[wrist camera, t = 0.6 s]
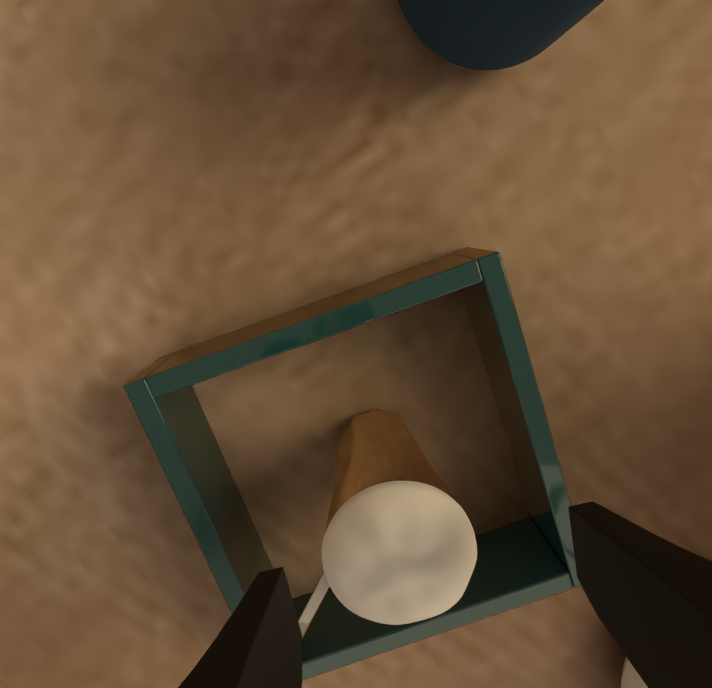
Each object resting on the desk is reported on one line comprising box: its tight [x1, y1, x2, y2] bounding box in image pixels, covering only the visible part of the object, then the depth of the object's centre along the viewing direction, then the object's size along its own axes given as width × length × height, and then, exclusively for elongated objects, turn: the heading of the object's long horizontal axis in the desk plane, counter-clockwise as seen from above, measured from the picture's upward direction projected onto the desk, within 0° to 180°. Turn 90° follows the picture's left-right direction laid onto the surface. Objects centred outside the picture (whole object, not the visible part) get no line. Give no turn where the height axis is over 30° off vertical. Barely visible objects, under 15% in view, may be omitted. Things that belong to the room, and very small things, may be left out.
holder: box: [124, 247, 581, 680], centre depth 21 cm, size 14×14×4 cm
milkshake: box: [298, 409, 477, 639], centre depth 18 cm, size 4×5×10 cm
